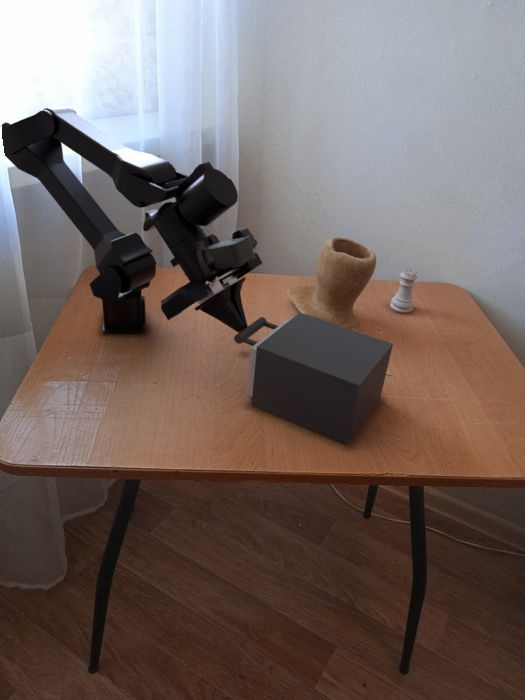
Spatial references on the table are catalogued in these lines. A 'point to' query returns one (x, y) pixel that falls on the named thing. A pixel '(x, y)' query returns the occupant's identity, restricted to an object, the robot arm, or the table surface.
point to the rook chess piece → (404, 292)
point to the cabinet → (320, 376)
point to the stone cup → (336, 282)
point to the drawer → (255, 344)
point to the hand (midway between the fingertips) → (245, 332)
